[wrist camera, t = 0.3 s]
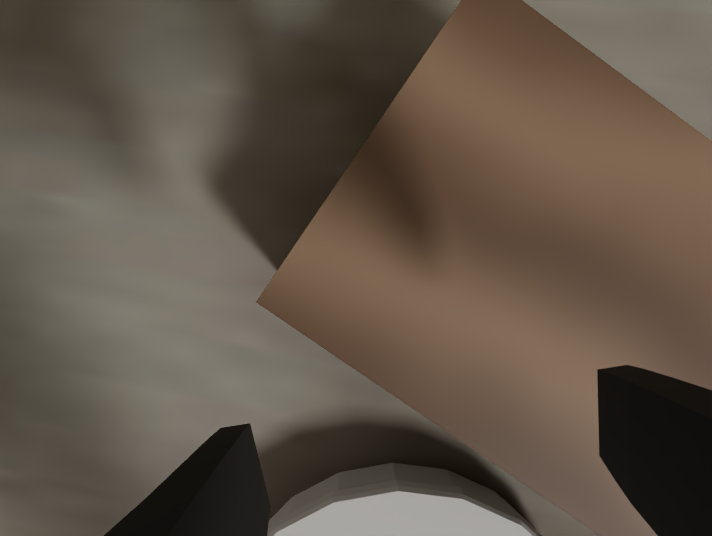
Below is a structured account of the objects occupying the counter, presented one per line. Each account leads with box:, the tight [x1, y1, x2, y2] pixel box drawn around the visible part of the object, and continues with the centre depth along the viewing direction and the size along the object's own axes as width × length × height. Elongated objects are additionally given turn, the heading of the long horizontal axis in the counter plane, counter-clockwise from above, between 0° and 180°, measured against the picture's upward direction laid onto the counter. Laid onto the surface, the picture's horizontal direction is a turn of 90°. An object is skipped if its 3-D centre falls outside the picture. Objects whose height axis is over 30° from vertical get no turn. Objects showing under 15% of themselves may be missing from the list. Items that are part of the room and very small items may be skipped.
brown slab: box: [256, 0, 712, 536], centre depth 16 cm, size 12×26×6 cm, turn 55°
